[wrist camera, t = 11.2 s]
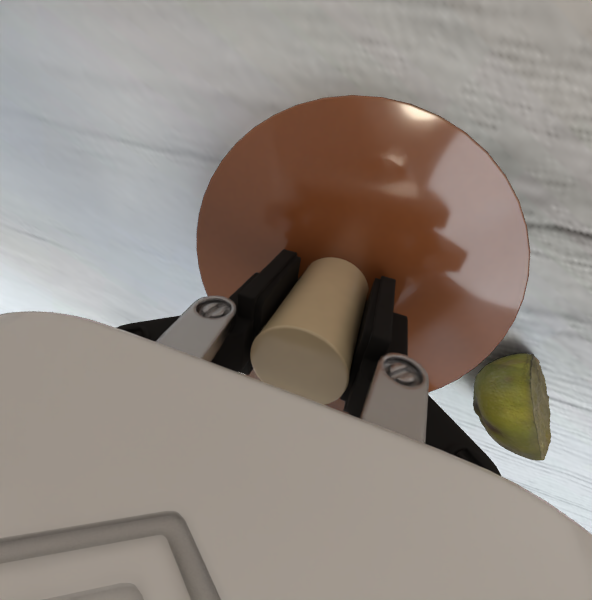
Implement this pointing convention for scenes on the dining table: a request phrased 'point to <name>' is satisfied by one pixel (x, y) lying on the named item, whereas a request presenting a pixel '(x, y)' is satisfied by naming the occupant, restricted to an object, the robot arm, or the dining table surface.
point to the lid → (366, 238)
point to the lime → (514, 404)
